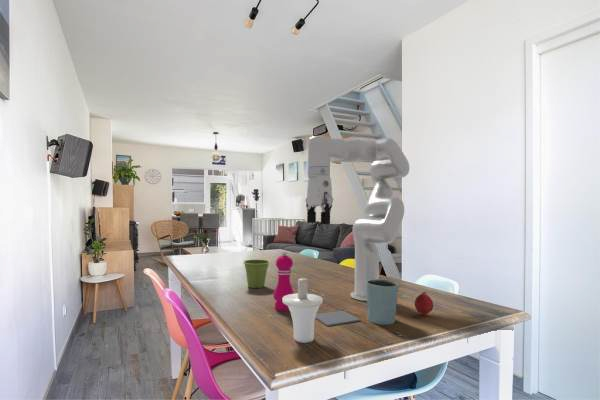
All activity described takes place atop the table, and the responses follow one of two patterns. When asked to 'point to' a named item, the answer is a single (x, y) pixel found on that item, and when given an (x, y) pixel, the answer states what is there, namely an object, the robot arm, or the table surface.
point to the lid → (302, 297)
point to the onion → (423, 304)
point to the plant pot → (256, 272)
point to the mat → (336, 318)
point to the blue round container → (381, 301)
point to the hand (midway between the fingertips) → (318, 223)
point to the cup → (303, 323)
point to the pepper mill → (283, 281)
